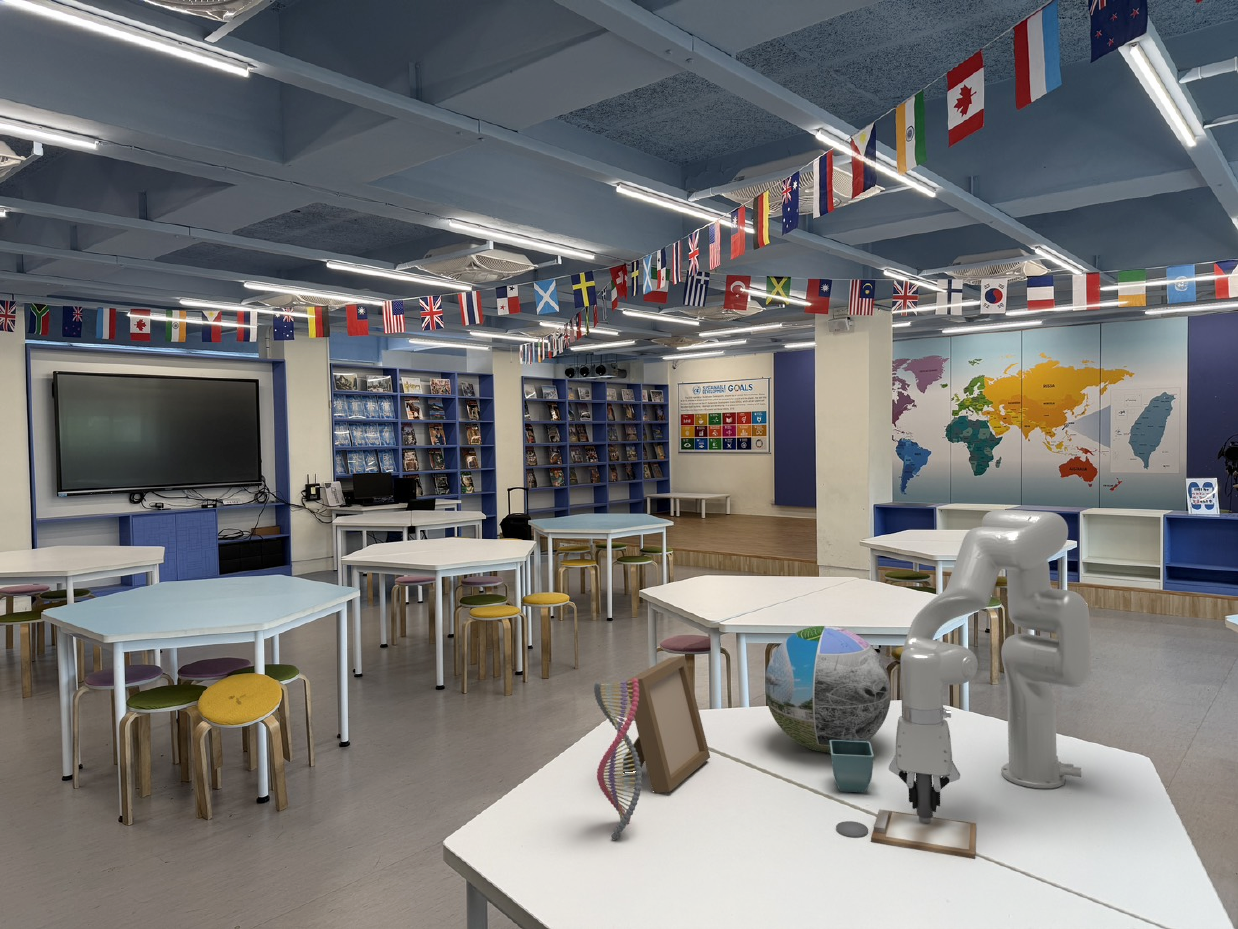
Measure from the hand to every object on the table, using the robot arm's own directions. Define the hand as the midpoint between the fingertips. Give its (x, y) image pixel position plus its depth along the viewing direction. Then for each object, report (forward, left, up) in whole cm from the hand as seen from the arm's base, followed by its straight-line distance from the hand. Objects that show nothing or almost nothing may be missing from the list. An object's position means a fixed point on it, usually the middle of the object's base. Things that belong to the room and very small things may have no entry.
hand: (924, 806), depth 161 cm
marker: (0, 0, -3) cm, 3 cm away
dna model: (+55, +22, -4) cm, 59 cm away
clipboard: (0, +3, -4) cm, 5 cm away
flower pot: (+16, -14, -4) cm, 22 cm away
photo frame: (+58, -8, -4) cm, 59 cm away
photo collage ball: (+25, -36, -4) cm, 44 cm away
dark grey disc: (+13, +6, -4) cm, 15 cm away
